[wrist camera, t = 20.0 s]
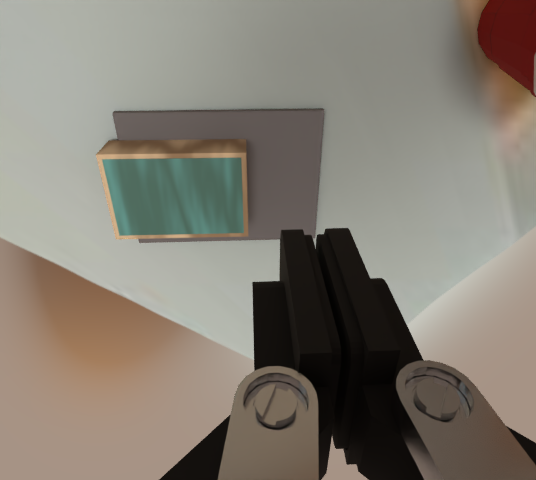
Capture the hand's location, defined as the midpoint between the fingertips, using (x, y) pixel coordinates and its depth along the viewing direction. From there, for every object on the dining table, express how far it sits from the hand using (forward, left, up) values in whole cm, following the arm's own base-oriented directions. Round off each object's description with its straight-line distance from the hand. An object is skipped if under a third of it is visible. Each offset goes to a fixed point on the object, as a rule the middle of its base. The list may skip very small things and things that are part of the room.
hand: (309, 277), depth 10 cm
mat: (+4, +9, -27) cm, 29 cm away
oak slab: (+2, +9, -25) cm, 26 cm away
